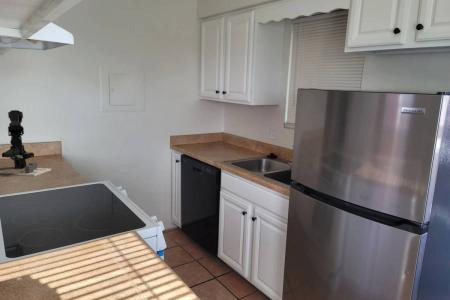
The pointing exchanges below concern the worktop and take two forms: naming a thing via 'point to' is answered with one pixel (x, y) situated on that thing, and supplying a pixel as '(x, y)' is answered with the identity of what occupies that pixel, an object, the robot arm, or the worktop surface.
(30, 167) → the slider
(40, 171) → the switch plate
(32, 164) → the slider on
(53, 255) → the worktop surface
